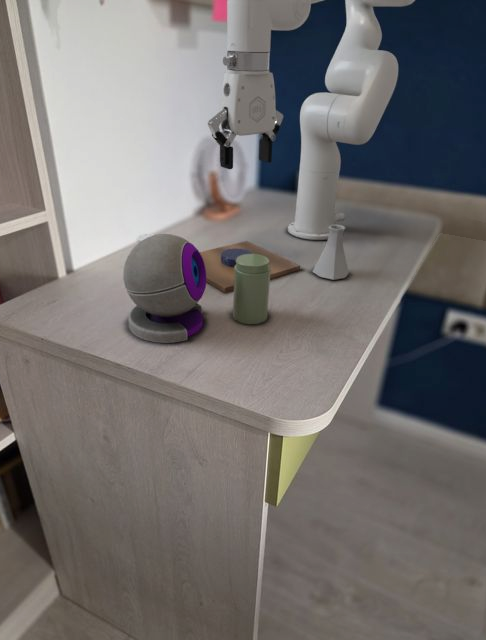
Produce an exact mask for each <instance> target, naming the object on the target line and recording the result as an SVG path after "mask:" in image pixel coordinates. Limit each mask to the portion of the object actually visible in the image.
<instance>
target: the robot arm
mask: <svg viewBox="0 0 486 640" xmlns="http://www.w3.org/2000/svg"><path fill="white" fill-rule="evenodd" d="M226 1H227V2H226V49H227V51H226V56H223V58H222V64H223V65H224V66H226V72H224V75H223V82H222V87H221V98H220V111H219V112H217V114H215V115H214V116H213V117H212V118H210V119H209V120H207V126H208V128H209V131H210V133H211V137H212V138H213V139H214V140H215V142H216V144H217V145H218V146H219V163H220V164H219V165H220V167H221V168H224V169H226V170H233V168H234V147H233V146H232V144H233V142H234V140H235V138H236V137H237V136H239V137H240V136H242V137H244V136H252V135H260V136H261V138H259V140H258V141H259V142H258V146H259V147H258V160H259V161H261V162H265V163H267V164H269V163H272V162H273V161H272V158H273V142H274V141H275V140H276V136H277V134H278V133H279V131H280V128H281V126H282V125H281V124H282V123H283V119H284V114H283V113H281V112H280V111H279V110H278V109H276V88H275V87H276V86H275V79H274V74H273V72H270V66H271V65H270V62H271V39H272V31H285V32H286V31H294V30H297V29H298V28H300V27H301V26H302V25H304V23H305V22H306V21H307V19H308V17H309V16H310V12H311V7H312V4H316V3H320V2H324V1H325V0H226ZM344 1H345V3H344V4H345V14H346V16H345V17H346V22H345V23H346V26H345V29H344V32H343V34H342V37H341V39H340V41H339V43H338V45H337V47H336V49H335V52H334V54H333V56H332V58H331V60H330V63H329V65H328V67H327V69H326V73H325V77H324V84H325V87H326V89H327V90H328V92H315V93H312V94H311V95H308V97H306V99H305V100H304V101H303V102H302V104H301V107H300V112H299V126H300V141H301V142H300V143H301V144H300V162H299V172H298V182H297V193H296V203H295V204H296V205H295V215H294V221H293V222H290V223H289V224H288V225H287V232H288V233H289V234H291V235H292V236H294V237H297V238H300V239H304V240H309V241H310V240H311V241H326V240H328V237H329V229H328V227H329V226H330V225H335V224H336V223H337V222H342V221H344V220H345V217H346V216H345V214H344V213H343V212H340V213H335V209H336V201H337V195H338V186H339V179H340V171H341V165H342V164H341V163H342V160H341V159H342V158H341V153H340V149H339V147H338V145H337V143H343V144H350V145H357V146H359V145H364V144H366V143H368V142H369V141H370V139H371V138H372V137H373V135H374V134H375V131H376V130H377V127H378V126H379V124H380V121H381V119H382V117H383V115H384V113H385V111H386V108H387V106H388V105H389V103H390V100H391V98H392V96H393V94H394V92H395V88H396V86H397V81H398V77H399V63H398V60H397V57H396V56H395V55H394V54H393V53H391V52H390V51H387V50H383V49H382V50H380V49H379V47H380V45H381V42H382V39H383V33H382V28H381V26H380V22H379V21H378V19H377V17H376V14H375V11H374V7H399V8H401V7H406V6H410V5H412V4H413V3H414V2H416V0H344ZM221 130H222V131H221Z"/></svg>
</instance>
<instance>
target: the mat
mask: <svg viewBox="0 0 486 640" xmlns="http://www.w3.org/2000/svg"><path fill="white" fill-rule="evenodd" d="M235 248H237V249H245V250H248V251H250V252H252V253H253V254H258V255H263V256H265V257H267V258H268V259H269V264H270V265H269V266H270V268H271V272H270V280H272V279H274V278H278V277H282V276H285V275H287V274H291V273H293V272H297V271H300V270H301V265H300V264H298V263H296V262H294V261H291V260H289V259H287V258H285V257H283V256H281V255H279V254H276V253H274V252H273V251H269V250H267V249H265V248H263V247H261V246H260V245H259V246H258V245H256V244H255V243H252V242H250V241H248V240H245V241H241V242H236V243H232V244H229V245H224V246H220V247H215V248H211V249H207V250H202V251H199V252H200V254H201V256H202V258H203V261H204V264H205V269H206V283H208V284H210V285H211V286H213V287H215V288H216V289H218V290H220V291H221V292H223V293H228V292H231V291H234V267H229V266H226V265H224V264H223V263H222V262H221V253H222V252H223V251H224V250H227V249H235Z"/></svg>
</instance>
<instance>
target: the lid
mask: <svg viewBox="0 0 486 640" xmlns="http://www.w3.org/2000/svg"><path fill="white" fill-rule="evenodd" d="M244 254H253V253H252V252H250V251H248V250H245V249H237V248H235V249H227V250H224V251H223V252H222V253H221V262H222V263H223V264H224V265H226V266H229V267H235V265H236V259H237V257H239V256H241V255H244Z"/></svg>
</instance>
